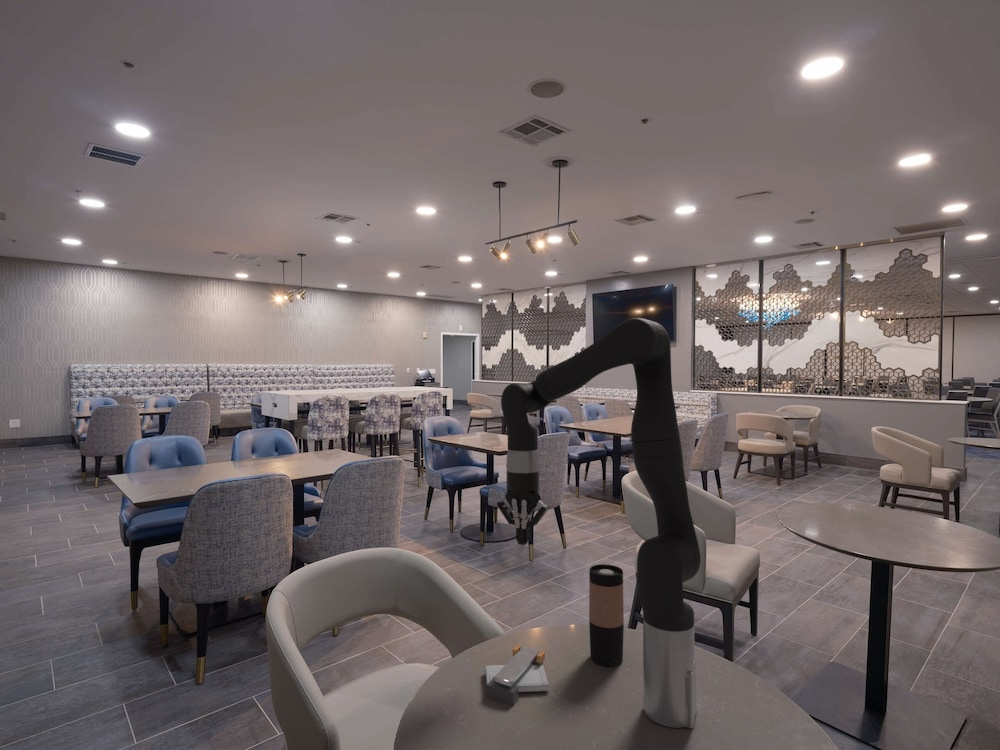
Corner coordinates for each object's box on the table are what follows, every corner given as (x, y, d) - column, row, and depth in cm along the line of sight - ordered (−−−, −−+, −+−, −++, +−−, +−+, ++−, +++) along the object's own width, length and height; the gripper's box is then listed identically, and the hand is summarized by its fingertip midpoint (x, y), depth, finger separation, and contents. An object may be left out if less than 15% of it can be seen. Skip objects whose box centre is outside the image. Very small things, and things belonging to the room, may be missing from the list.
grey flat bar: (540, 658, 116) (540, 649, 116) (510, 693, 103) (510, 683, 103) (523, 654, 118) (523, 645, 118) (492, 688, 105) (492, 677, 105)
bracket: (544, 670, 115) (544, 652, 115) (515, 706, 102) (515, 686, 102) (516, 662, 118) (516, 645, 118) (484, 696, 105) (484, 677, 105)
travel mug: (583, 653, 122) (583, 566, 123) (613, 648, 124) (612, 562, 125) (599, 670, 115) (598, 577, 115) (630, 664, 117) (629, 573, 118)
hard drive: (487, 686, 106) (548, 683, 106) (485, 664, 114) (542, 662, 115) (487, 694, 106) (549, 692, 106) (485, 672, 114) (542, 670, 115)
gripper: (555, 468, 124) (555, 543, 123) (504, 464, 130) (504, 536, 129) (542, 473, 117) (542, 552, 117) (490, 469, 123) (490, 544, 123)
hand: (522, 543), depth 123 cm, fingers closed
